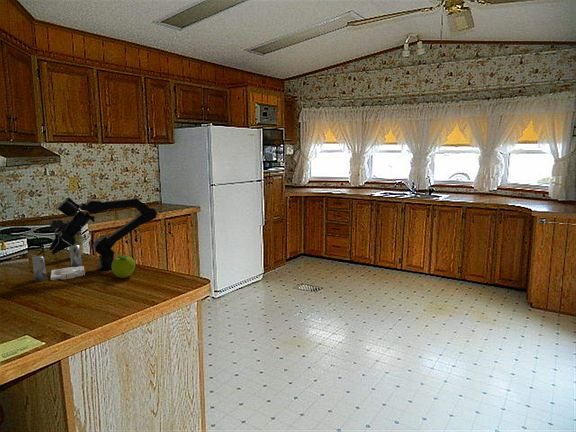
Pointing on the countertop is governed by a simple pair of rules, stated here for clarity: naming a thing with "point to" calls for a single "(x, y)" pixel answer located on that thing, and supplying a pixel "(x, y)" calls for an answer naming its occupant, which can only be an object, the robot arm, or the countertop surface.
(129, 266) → the fruit
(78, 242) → the sauce bottle
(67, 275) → the scale
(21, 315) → the countertop surface
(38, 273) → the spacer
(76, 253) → the cylinder
